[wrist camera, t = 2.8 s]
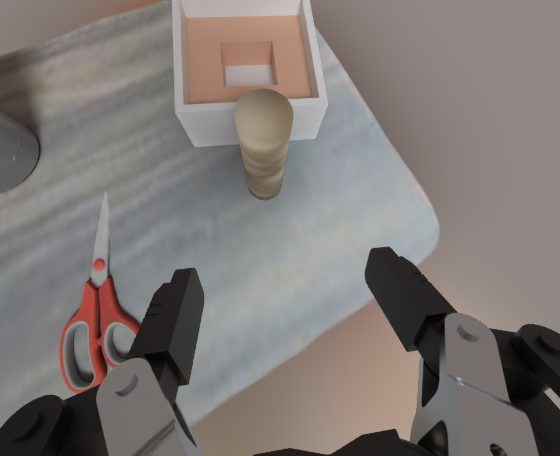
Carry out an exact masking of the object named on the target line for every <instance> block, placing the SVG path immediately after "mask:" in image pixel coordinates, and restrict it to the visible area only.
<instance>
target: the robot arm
mask: <svg viewBox="0 0 560 456" xmlns="http://www.w3.org/2000/svg"><path fill="white" fill-rule="evenodd" d="M38 155H39V145H38V141H37V138H36V137H35V135H34V134H33V132H32V131H31V130H30V129H28V128H27V127H26V126H24V125H22V124H21V123H19V122H18V121H16V120H14V119H13V118H11V117H9V116H8V115H6V114H5V113H3V112H1V111H0V193H1V192H4V191H7V190H9V189H11V188H13V187H15V186H16V185H18V184H19V183H21V182H22V181H23V180H24V179H25V178H26V177H28V175H29V174H30V173H31V171H32V170H33V169H34V167H35V165H36V163H37V160H38ZM365 280H366V283H367V285H368V287H369V289H370V290H371V292H372V294H373V295H374V297H375V299H376V300H377V302H378V304H379V305H380V307H381V309H382V310H383V312H384V314H385V315H386V317H387V319H388V321H389V322H390V324H391V326H392V327H393V329H394V331H395V332H396V334H397V336H398V338H399V339H400V341H401V343H402V344H403V346H404V348H405V350H406V351H407V352H410V351H416V350H418V351H419V353H420V354H421V358H420V364H419V380H418V396H417V410H416V415H415V418H414V421H413V424H412V429H411V435H410V436H411V437H410V441H407V440H403V439H400V438H399V436H398V433H397V431H396V429H391V430H386V431H381V432H375V433H370V434H364V435H361V436H359V437H358V438H356V439H355V440H353V441H352V442H350V443H348V444H347V445H345V446H343V447H342V448H341V449H339V450H337V451H335V452H334V453H332V454H329V455H325V454H320V453H314V452H308V451H303V450H297V449H292V448H288V449H282V450H277V451H271V452H266V453H261V454H255V455H253V456H560V409H559V408H558V407H557V406H556V405H555V404H554V403H553V402H552V400H551V399H550V398H549V397H548V396H547V395H546V394H545V393H544V391H546V390H547V389H549V388H551V389H552V390H553V391H554V392H555V393H556V394H557V395H558V397H559V398H560V334H558V333H557V332H555V331H553V330H551V329H548V328H546V327H543V326H539V325H535V324H527V325H524V326H522V327H521V328H520V329H519V330H518V331H517V332H516V333H515V332H509V331H502V330H496V329H490V328H487V326H486V325H484V324H483V323H482V322H480V321H479V320H477V319H475V318H473V317H471V316H469V315H466V314H462V313H457V311H456V310H455V309H454V308H453V307H452V306H451V305H450V304H449V303H448V301H447V300H446V299H445V298H444V297H443V296H442V295H441V294H440V293H439V292H438V290H436V288H435V287H434V286H433V285H432V284H431V283H430V282H428V279H427V278H426V277H425V276H424V275H423V274H421V272H420V271H419V270H418V268H417V267H416V266H415V265H414V264H413V263H411V262H410V261H408V260H407V259H405V258H404V257H402V256H400V257H398V255H397V254H396V253H395V252H394V251H393V250H392V249H391V248H390V247H380V248H372V249H371V250H370V253H369V257H368V261H367V265H366V269H365ZM203 307H204V292H203V289H202V286H201V283H200V280H199V277H198V274H197V271H196V269H195V268H186V269H177V270H175V272H174V274H173V277H172V280H171V282H170V283H163V285H162V286H161V287H160V288H159V289H158V290H157V291H156V292H155V293H154V295H153V298H152V300H151V302H150V305H149V307H148V309H147V312H146V314H145V317H144V319H143V321H142V323H141V326H140V328H139V330H138V332H137V335H136V337H135V339H134V342H133V344H132V346H131V349H130V351H129V353H128V356H127V358H126V359H125V361H124V362H122V363H121V364H119V365H118V366H116V367H115V368H114V369H113V370H112V371H111V372H110V373H109V374H108V375H107V376H106V377H105V378H104V380H103V381H102V383H100V384H98V385H96V386H94V387H92V388H90V389H88V390H86V391H83V392H81V393H79V394H77V395H74V396H72V397H70V398H68V399H66V400H62V399H61V398H59V397H58V396H56V395H45V396H42V397H39V398H37V399H35V400H33V401H31V402H29V403H28V404H26V405H24V406H23V407H22V408H20V409H19V410H18V411H17V412H16V413H14V414H13V415H12V416H11V417H10V418H9V419H8V420H7V421H6V422H5V423H4V425H3V426H2V427H1V428H0V456H204V455H203V453H202V452H201V450H200V448H199V446H198V444H197V442H196V440H195V438H194V436H193V434H192V432H191V430H190V428H189V426H188V423H187V421H186V419H185V417H184V415H183V413H182V411H181V409H180V407H179V405H178V403H177V401H176V395H177V391H178V386H182V385H188V384H189V380H190V375H191V370H192V365H193V359H194V354H195V349H196V343H197V338H198V333H199V328H200V322H201V317H202V312H203Z"/></svg>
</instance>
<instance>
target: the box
mask: <svg viewBox="0 0 560 456" xmlns="http://www.w3.org/2000/svg"><path fill="white" fill-rule="evenodd" d="M172 22H173V56H174V91H175V113H176V115H177V117H178V119H179V120H180V122H181V124H182V126H183V127H184V129H185V131H186V133H187V134H188V136H189V138H190V140H191V142H192V143H193V145H194V147H208V146H222V145H237V144H240V143H239V138H238V133H237V128H236V123H235V118H234V109H235V106H236V103H237V102H238V100H239V99H240V98H241V97H242V96H243V95H244V94H246V93H247V92H249V91H252V90H255V89H271V90H274V91H277V92H279V93H280V94H282V95H283V96H285V97H286V98H287V99H288V101H289V102H290V104H291V106H292V108H293V114H294V117H293V124H292V129H291V135H290V141H294V140H309V139H316V136H317V133H318V130H319V128H320V125H321V122H322V120H323V117H324V114H325V111H326V109H327V106H328V100H327V94H326V89H325V83H324V78H323V72H322V67H321V61H320V56H319V50H318V44H317V39H316V33H315V28H314V22H313V17H312V11H311V6H310V0H172Z"/></svg>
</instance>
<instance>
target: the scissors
mask: <svg viewBox="0 0 560 456" xmlns="http://www.w3.org/2000/svg"><path fill="white" fill-rule="evenodd" d="M109 257H110V223H109V207H108V201H107V195H106V190H105V192H104V197H103V202H102V206H101V210H100V216H99V220H98V227H97V232H96V239H95V245H94V252H93V260H92V267H91V276H92V278H91V280H88V281H87V282H86V283H85V289H84V295H83V300H82V304H81V307H80V309H79V311H78V312H77V314H76V315H75V316H74V317H73V318H72V319H71V320H70V321H69V322H68V323H67V324H66V326H65V328H64V330H63V332H62V336H61V343H60V364H61V370H62V374H63V378H64V380H65V383H66V385H67V386H68V388H69V389H70V390H71V391H73V392H75V393H78V394H79V393H81V392H83V391H86V390H88V389H90V388H92V387H94V386H96V385H98V384H100V383H102V381H103V380H104V378H105V377H106V374H107V370H106V366H105V363H104V360H103V356H104V358H105V360H106V361H107V363H108V364H109V365H110V366H112V367H114V368H115V367H116V366H118V365H119V364H121V363H122V362H124V361H125V359H123V358H121V357H119V356H118V354H117V353H116V351H115V349H114V346H113V341H112V336H113V331H114V328H115V326H116V325H118V324H119V325H122V326H124V327H125V328H127V329H128V330H129V331H130V332H131V333H132V334H133V335H134V337H136V335H137V332H138V330H139V328H140V325H139V324H138V323H137V322H136V321H134V320H133V319H132V318H130V317H129V316H127V315H126V314H125V313H124V312H123V311H122V309H121V308H120V306H119V303H118V300H117V296H116V292H115V288H114V283H113V279H112V277H109ZM99 287H100V289H99ZM100 312H101V313H100ZM100 315H101V337H100ZM81 324H85V325H86V326H87V345H88V355H89V360H90V364H91V368H92V371H93V374H94V379H93V381H92V382H85V381H83V380H82V379H81V378H80V376H79V374H78V372H77V369H76V366H75V361H74V352H73V343H74V335H75V331H76V329H77V328H78V327H79V326H80V325H81ZM101 347H102V352H103V356H102V353H101Z"/></svg>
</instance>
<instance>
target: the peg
mask: <svg viewBox="0 0 560 456" xmlns="http://www.w3.org/2000/svg"><path fill="white" fill-rule="evenodd" d="M293 117H294V114H293V108H292V106H291V104H290V102H289V101H288V99H287V98H286V97H285V96H283V95H282V94H280V93H279V92H277V91H274V90H271V89H255V90H252V91H249V92H247V93H246V94H244V95H243V96H242V97H241V98H240V99H239V100H238V102H237V103H236V106H235V109H234V118H235V123H236V128H237V133H238V138H239V143H240V148H241V153H242V158H243V163H244V168H245V172H246V177H247V182H248V187H249V190H250V192H251V194H252V195H253V196H254V197H256V198H258V199H261V200H270V199H272V198H274V197H276V196H277V195H278V194H279V192H280V190H281V186H282V181H283V175H284V169H285V164H286V158H287V152H288V146H289V141H290V135H291V129H292V124H293Z"/></svg>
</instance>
